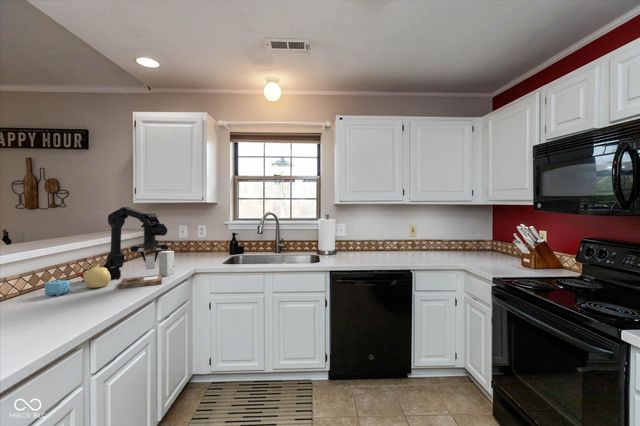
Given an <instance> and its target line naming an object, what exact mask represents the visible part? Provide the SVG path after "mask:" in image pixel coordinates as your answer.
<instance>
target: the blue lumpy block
mask: <svg viewBox="0 0 640 426" xmlns="http://www.w3.org/2000/svg"><path fill="white" fill-rule="evenodd" d="M43 284H44V295H45V296H49V297H52V296H56V297H60V296H61V295H66V294H67V293H69V292H70V291H71V290H70V289H71V287H70V280H60V279H55V280H53V281H50V282H47V281H43Z"/></svg>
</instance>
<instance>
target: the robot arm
mask: <svg viewBox="0 0 640 426" xmlns="http://www.w3.org/2000/svg"><path fill="white" fill-rule="evenodd" d="M128 217H131V218H135V219H137V220H138V221H139V222H140V223H142V225H140V228H143V246H140V245H139V244H135V245H131V246H130V252H132V253H133V252H137V253H139V254H141V257H142V259H143V261H144V263H145V264H146V261H145V258H146V254H145V253H146V252H145V251H148V250H150V251H151V250H154V249H155V255H154V256H155V263H156V261H157V259H158V256H159V252H162V250H169V244H168V243H160V244H159V240H158V239H157V240H156V236H157V237H158V236H160V237H161V236H162V237H164V236H166V235H167V233H168V227H166V225H165V223H161V221H160V220H159V218H158V216H157V214H156V213H153V212H143V211H140V210H137V209H135V208H131V207H129V206H122V207H120V208H119V209H117V210H115V211H113V212H111V213H109V214H108V216H107V220H108V221H107V222H108V225H109V227H111V228H110V231H111V232H110V251H109V253H108V255H107V258H106V262H105V263H104V264H103V266H102V267H104V268H107V270H108V271H109V273H110V275H111V279H110V281H112V280H119V279H120V278H121V277H122V270H121V268H123V266H124V262H125V256H126V255H125V254H123V253H122V251H121V249H122V248H121V247H122V227H123V226H124V225H125V222H126V219H127V218H128Z"/></svg>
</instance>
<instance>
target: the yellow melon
mask: <svg viewBox="0 0 640 426" xmlns="http://www.w3.org/2000/svg"><path fill="white" fill-rule="evenodd" d="M83 278H84V279H83V280H84V282H83V283H84V284H85V286H86V287H88V288H92V289H93V288H94V289H95V288H104V287H105V286H106V287H107V286H108V285H109V284H110V282H111V280H110V279H111V275H110V273H109V271H108V270H107V268H104V267H103V266H102V267H101V266H95V267H94V268H92V269H90V270H88V271H85V272H84V273H83Z"/></svg>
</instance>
